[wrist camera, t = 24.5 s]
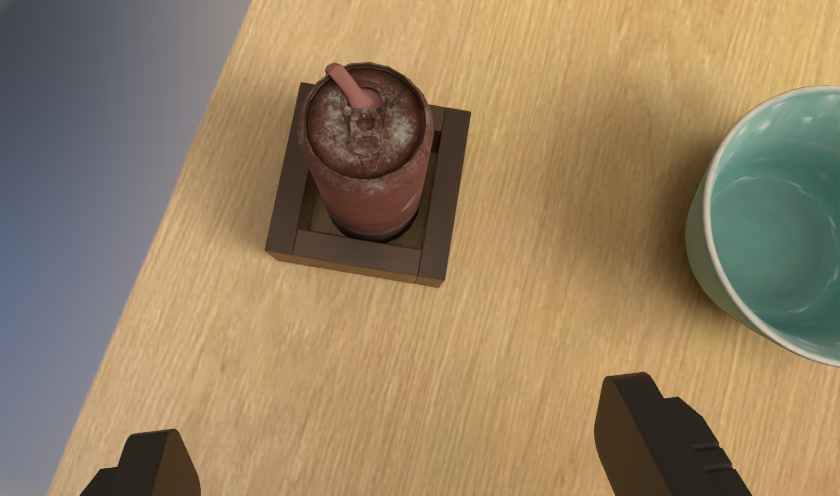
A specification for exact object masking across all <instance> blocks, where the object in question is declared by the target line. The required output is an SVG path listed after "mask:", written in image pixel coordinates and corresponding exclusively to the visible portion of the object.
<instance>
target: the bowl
mask: <svg viewBox="0 0 840 496" xmlns="http://www.w3.org/2000/svg"><path fill="white" fill-rule="evenodd" d="M685 244H686V251H687V256H688V260H689V263H690V266H691V269H692V271H693V274H694V276H695V278H696V279H697V281H698V283H699V285H700V286H701V288H702V289H703V291H704V292H705V293H706V295H707V296H708V297H709V298H710V299H711V300H712V301H713V302H714V303H715V304H716V305H717V306H718V307H719V308H720V309H722V310H723V311H724V312H725V313H727V314H728V315H730V316H731V317H733V318H735V319H736V320H738V321H739V322H741V323H742V324H744V325H745V326H747V327H748V328H750V329H751V330H753V331H754V332H756V333H758V334H760V335H761V336H763V337H765V338H767V339H768V340H770V341H772V342H774V343H776V344H777V345H779V346H781V347H783V348H785V349H787V350H789V351H791V352H793V353H795V354H797V355H799V356H801V357H804V358H806V359H809V360H812V361H815V362H818V363H821V364H825V365H830V366H834V367H840V86H832V85H822V86H809V87H802V88H798V89H794V90H791V91H787V92H784V93H782V94H779V95H777V96H775V97H772V98H770V99H768V100H766V101H764V102H763V103H761V104H759V105H758V106H756V107H754V108H753V109H752V110H750V111H749V112H748V113H747V114H745V115H744V116H743V117H742V118H741V119H740V120H739V121H738V122H737V123H736V124H735V125H734V126H733V127H732V128H731V129H730V130H729V132H728V133H727V134H726V135H725V137H724V138H723V140H722V141H721V143H720V144H719V146H718V148H717V150H716V152H715V154H714V155H713V157H712V159H711V161H710V163H709V165H708V167H707V169H706V171H705V173H704V175H703V177H702V180H701V182H700V184H699V187H698V189H697V191H696V194H695V196H694V199H693V201H692V204H691V206H690V209H689V212H688V216H687V220H686V227H685Z"/></svg>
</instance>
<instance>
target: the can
mask: <svg viewBox="0 0 840 496" xmlns="http://www.w3.org/2000/svg"><path fill="white" fill-rule="evenodd" d="M325 72H326V76H324V77H323V78H322V79H321V80H319V81H318V82H317V83H316V85H315V86H313V88H312V89H311V91H310V92H309V94H308V95H307V97H306V98H305V100H304V101H303V103H302V106H301V110H300V114H299V117H298V121H297V131H298V144H299V146H300V149H301V151H302V153H303V156H304V158H305V160H306V163H307V165H308V167H309V169H310V172H311V174H312V176H313V179H314V181H315V183H316V185H317V188H318V190H319V192H320V194H321V197H322V199H323V201H324V204H325V206H326V208H327V210H328V213H329V215H330V217H331V219H332V222H333V223H334V224H335V226H336V227H337V228H338V229H339V230H340V231H341V232H342V234H344V235H346V236H347V237H350V238H356V239H362V240H367V241H373V242H379V243H386V242H389V241H391V240H393V239H396V238H398V237H400V236H401V235H402V234H403V233H404V232H405V231H406V230H408V229H409V228H410V226H411V225H412V223H413V221H414V220H415V218H416V216H417V214H418V209H419V205H420V200H421V195H422V190H423V186H424V181H425V176H426V171H427V166H428V161H429V156H430V151H431V146H432V141H433V136H434V126H433V117H432V112H431V110H430V107H429V105H428V103H427V101H426V99H425V97H424V94H423V93H422V92H421V91H420V90H419V89H418V88H417V87H416V86H415V85H414V84H413V83H412V81H411V80H410V79H408V78H407V77H406V76H404V75H403V74H401V73H399V72H397V71H396V70H394V69H392V68H390V67H389V66H384V65H380V64H375V63H371V62H365V63H350V64H348V65H345V66H342V65H340V64H338V63H332V64H330V65H328V66H327V67H326V69H325Z"/></svg>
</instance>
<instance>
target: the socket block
mask: <svg viewBox="0 0 840 496" xmlns="http://www.w3.org/2000/svg"><path fill="white" fill-rule="evenodd" d="M313 86H315V85H314V84H308V83H303V82H301V83H300V87H299V92H298V97H297V101H296V106H295V111H294V116H293V120H292V125H291V130H290V134H289V139H288V144H287V148H286V153H285V158H284V163H283V167H282V172H281V177H280V181H279V186H278V191H277V195H276V200H275V205H274V209H273V214H272V219H271V224H270V228H269V233H268V238H267V242H266V247H265V251H267V252H268V253H269V254H270V255H272V256H273V257H274V258H275V259H277V260H278V261H283V262H289V263H295V264H302V265H307V266H313V267H318V268H324V269H330V270H336V271H342V272H348V273H354V274H360V275H366V276H372V277H378V278H384V279H390V280H396V281H402V282H408V283H415V284H419V285H425V286H431V287H437V288H439V287H440V286H441V284H442V283H443V282H444V280H445V276H446V269H447V263H448V257H449V250H450V244H451V237H452V231H453V225H454V218H455V212H456V206H457V199H458V193H459V186H460V180H461V174H462V167H463V161H464V155H465V148H466V142H467V135H468V129H469V123H470V116H471V112H469V111H464V110H458V109H452V108H445V107H440V106H435V105H429V104H428V105H429V107H430V110H431V112H432V117H433V126H434V136H433V141H432V146H431V152H437V154H436V160H435V166H434V172H433V178H432V184H431V190H430V196H429V202H428V208H427V214H426V220H425V226H424V232H423V238H422V244H421V249H415V248H409V247H403V246H397V245H391V244H385V243H379V242H373V241H367V240H362V239H356V238H350V237H344V236H338V235H332V234H326V233H320V232H314V231H309V226H310V221H311V216H312V211H313V206H314V201H315V196H316V191H317V185H316V183H315V181H314V179H313V176H312V174H311V172H310V169H309V167H308V165H307V163H306V160H305V158H304V156H303V153H302V151H301V149H300V146H299V144H298V131H297V121H298V117H299V114H300V110H301V106H302V103H303V101H304V100H305V98H306V97H307V95H308V94H309V92H310V91H311V89H312V88H313Z"/></svg>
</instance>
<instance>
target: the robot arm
mask: <svg viewBox="0 0 840 496" xmlns="http://www.w3.org/2000/svg"><path fill="white" fill-rule="evenodd" d="M594 437H595V444H596V448H597V452H598V455H599V458H600V461H601V463H602V465H603V468H604V470H605V472H606V475H607V477H608V480H609V482H610V484H611V487H612V489H613V491H614V494H615V496H752V495H751V493H750V491H749V490H748V488H747V487H746V485H745V484H744V482H743V480H742V479H741V477H740V476H739V474H738V472H737V471H736V469H733V467H732V463H731V461H730V460H729V458H728V457H727V455H726V453H725V452H724V450H723V449H722V448H720V447H719V442H718V441H717V439H716V437H715V436H714V434H713V433H712V431H711V430H710V428H709V426H708V425H707V423H706V422H705V420H704V418H703V417H702V416H701V415H699V414H698V413H697V412H696V411H695V410H694V409H692V408H691V407H690V406H689V405H688V404H686V403H685V402H684V401H683V400H682V399H681V398H679V397H673V398H665V399H664V398H663V396H662V394H661V393H660V391H659V389H658V388H657V386H656V384H655V382H654V381H653V379H652V378H651V376H650V375H649V374H647V373H646V372H638V373H630V374H622V375H614V376H607V377H605V378H604V380H603V384H602V389H601V394H600V399H599V405H598V410H597V415H596V420H595V425H594ZM80 496H201V488H200V481H199V477H198V474H197V472H196V470H195V468H194V465H193V463H192V461H191V458H190V456H189V454H188V452H187V449H186V447H185V445H184V442H183V440H182V438H181V436H180V434H179V432H178V431H177V430H176V429H168V430H160V431H152V432H143V433H135V434H132V435H130V436H129V438H128V439H127V441H126V443H125V445H124V448H123V451H122V454H121V457H120V460H119V463H118V466H117V467H113V468H105V469H100V470H99V471H98V473H97V474H96V475H95V476H94V478H93V479H92V480H91V482H90V483H89V484H88V485H87V487H86V488H85V489H84V490H83V492H82V493H81V494H80Z"/></svg>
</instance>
